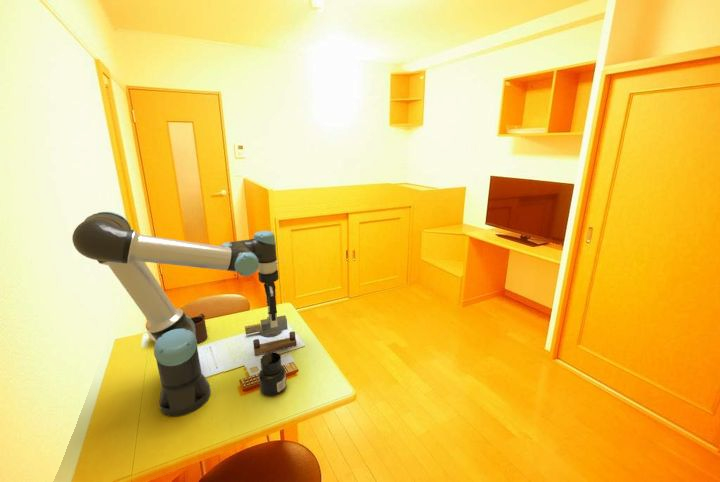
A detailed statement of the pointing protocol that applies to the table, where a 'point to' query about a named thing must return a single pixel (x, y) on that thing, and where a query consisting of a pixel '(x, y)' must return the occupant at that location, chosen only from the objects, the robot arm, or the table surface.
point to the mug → (200, 328)
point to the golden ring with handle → (254, 329)
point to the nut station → (270, 334)
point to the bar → (267, 327)
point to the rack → (274, 344)
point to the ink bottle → (272, 375)
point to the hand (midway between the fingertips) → (273, 323)
